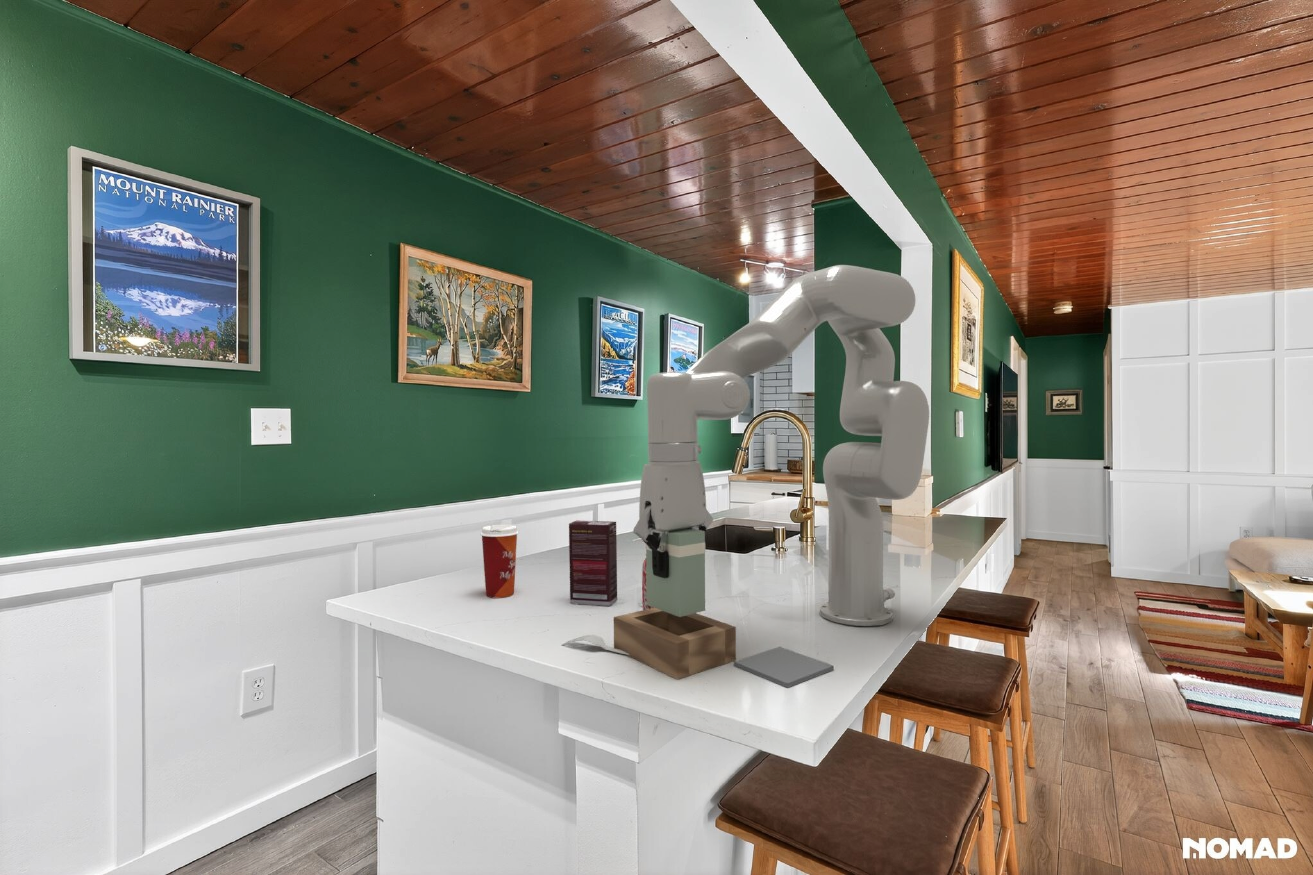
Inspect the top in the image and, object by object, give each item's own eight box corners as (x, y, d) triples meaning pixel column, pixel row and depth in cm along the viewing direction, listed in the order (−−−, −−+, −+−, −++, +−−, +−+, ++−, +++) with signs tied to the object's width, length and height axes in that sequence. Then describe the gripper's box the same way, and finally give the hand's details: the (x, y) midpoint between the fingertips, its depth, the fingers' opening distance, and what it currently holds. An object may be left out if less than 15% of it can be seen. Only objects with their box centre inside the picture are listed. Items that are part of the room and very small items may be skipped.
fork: (673, 685, 93) (675, 666, 93) (556, 647, 102) (557, 630, 102) (681, 678, 95) (683, 660, 95) (566, 642, 104) (567, 625, 104)
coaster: (779, 650, 99) (779, 646, 99) (833, 669, 91) (833, 665, 91) (733, 665, 93) (733, 661, 93) (787, 687, 85) (787, 683, 85)
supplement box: (618, 600, 128) (617, 520, 127) (610, 606, 123) (609, 524, 123) (577, 597, 130) (577, 519, 130) (568, 603, 125) (567, 523, 125)
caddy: (670, 633, 107) (670, 604, 107) (735, 660, 95) (735, 626, 95) (613, 648, 100) (613, 617, 100) (676, 679, 88) (676, 643, 88)
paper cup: (514, 599, 129) (513, 530, 128) (476, 599, 129) (475, 530, 128) (522, 589, 136) (522, 523, 136) (486, 589, 137) (486, 523, 136)
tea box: (671, 599, 103) (671, 524, 102) (705, 610, 96) (705, 531, 96) (646, 604, 99) (645, 527, 99) (679, 617, 93) (679, 534, 93)
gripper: (698, 450, 105) (701, 560, 106) (612, 456, 95) (615, 578, 95) (731, 452, 99) (733, 568, 100) (643, 458, 89) (646, 588, 89)
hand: (675, 571), depth 98 cm, fingers closed on tea box, 5 cm apart
